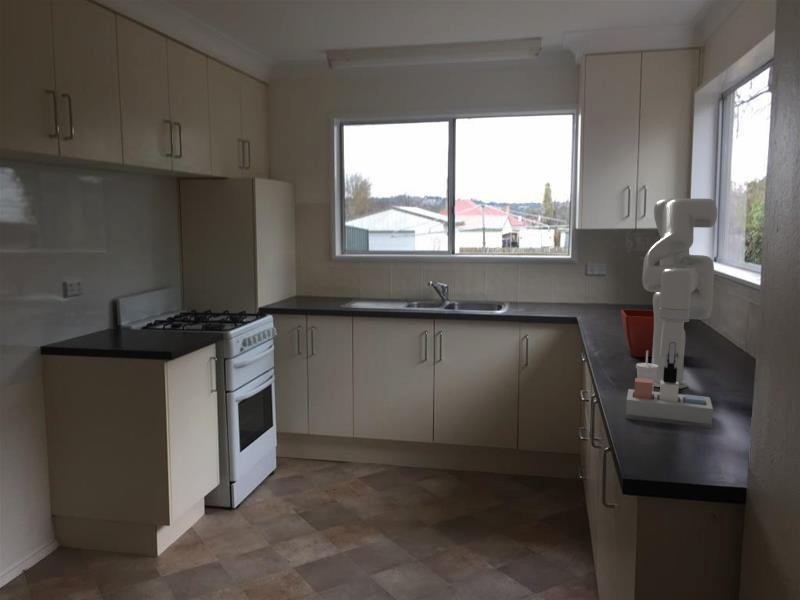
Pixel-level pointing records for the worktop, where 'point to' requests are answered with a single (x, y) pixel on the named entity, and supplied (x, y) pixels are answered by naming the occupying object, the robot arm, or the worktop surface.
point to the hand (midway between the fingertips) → (669, 381)
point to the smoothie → (647, 370)
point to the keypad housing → (669, 410)
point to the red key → (643, 388)
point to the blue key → (695, 399)
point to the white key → (669, 391)
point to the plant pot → (638, 331)
